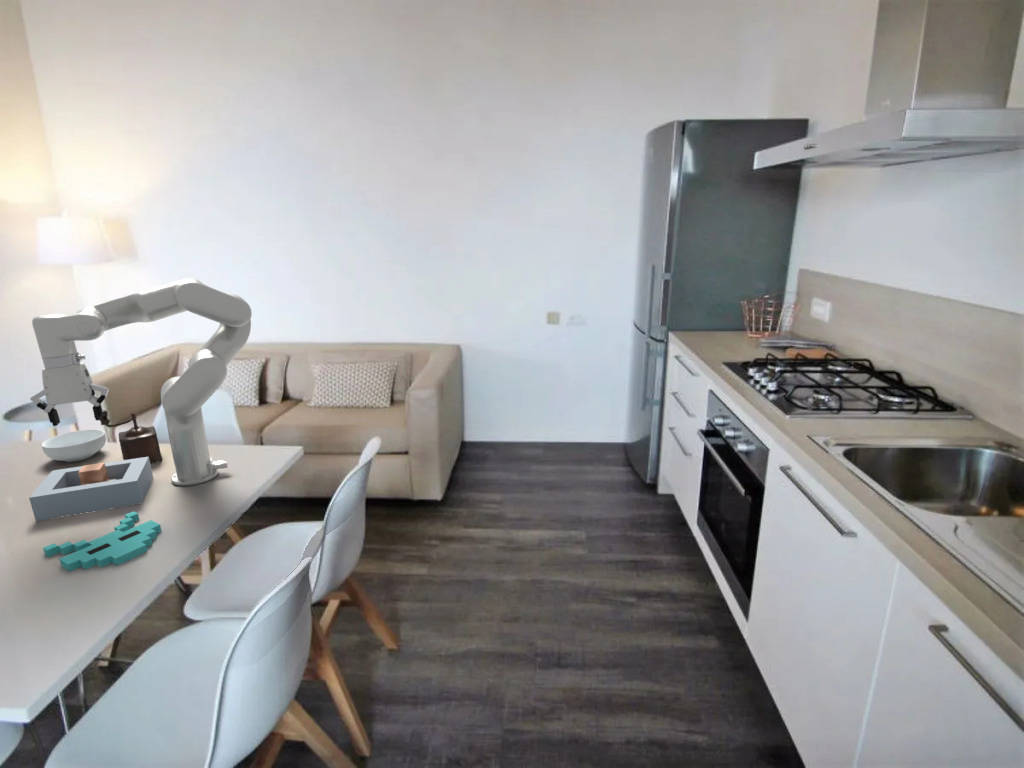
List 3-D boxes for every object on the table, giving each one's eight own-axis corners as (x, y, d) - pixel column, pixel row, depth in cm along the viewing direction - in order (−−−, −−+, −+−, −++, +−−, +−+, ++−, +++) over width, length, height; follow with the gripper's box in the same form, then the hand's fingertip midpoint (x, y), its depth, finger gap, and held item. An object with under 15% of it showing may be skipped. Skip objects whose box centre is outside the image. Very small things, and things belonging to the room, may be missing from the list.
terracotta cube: (108, 481, 163) (104, 462, 161) (104, 488, 159) (99, 469, 157) (88, 484, 161) (83, 465, 159) (83, 492, 157) (78, 472, 155)
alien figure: (45, 555, 134) (83, 582, 124) (42, 547, 133) (81, 573, 123) (135, 518, 150) (176, 539, 140) (133, 511, 150) (174, 531, 139)
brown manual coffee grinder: (159, 450, 194) (149, 400, 189) (163, 461, 185) (152, 409, 180) (105, 461, 185) (92, 410, 180) (105, 473, 177) (93, 419, 172)
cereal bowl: (108, 443, 201) (104, 425, 199) (110, 458, 188) (105, 439, 186) (47, 455, 191) (42, 436, 189) (45, 472, 178) (39, 451, 176)
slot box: (153, 477, 173) (148, 456, 171) (141, 503, 157) (136, 480, 155) (57, 492, 164) (52, 470, 162) (35, 521, 148) (29, 497, 146)
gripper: (103, 354, 156) (118, 412, 161) (27, 362, 150) (44, 422, 155) (96, 360, 149) (111, 421, 154) (15, 368, 143) (34, 431, 148)
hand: (78, 421), depth 154 cm, fingers open, 9 cm apart
